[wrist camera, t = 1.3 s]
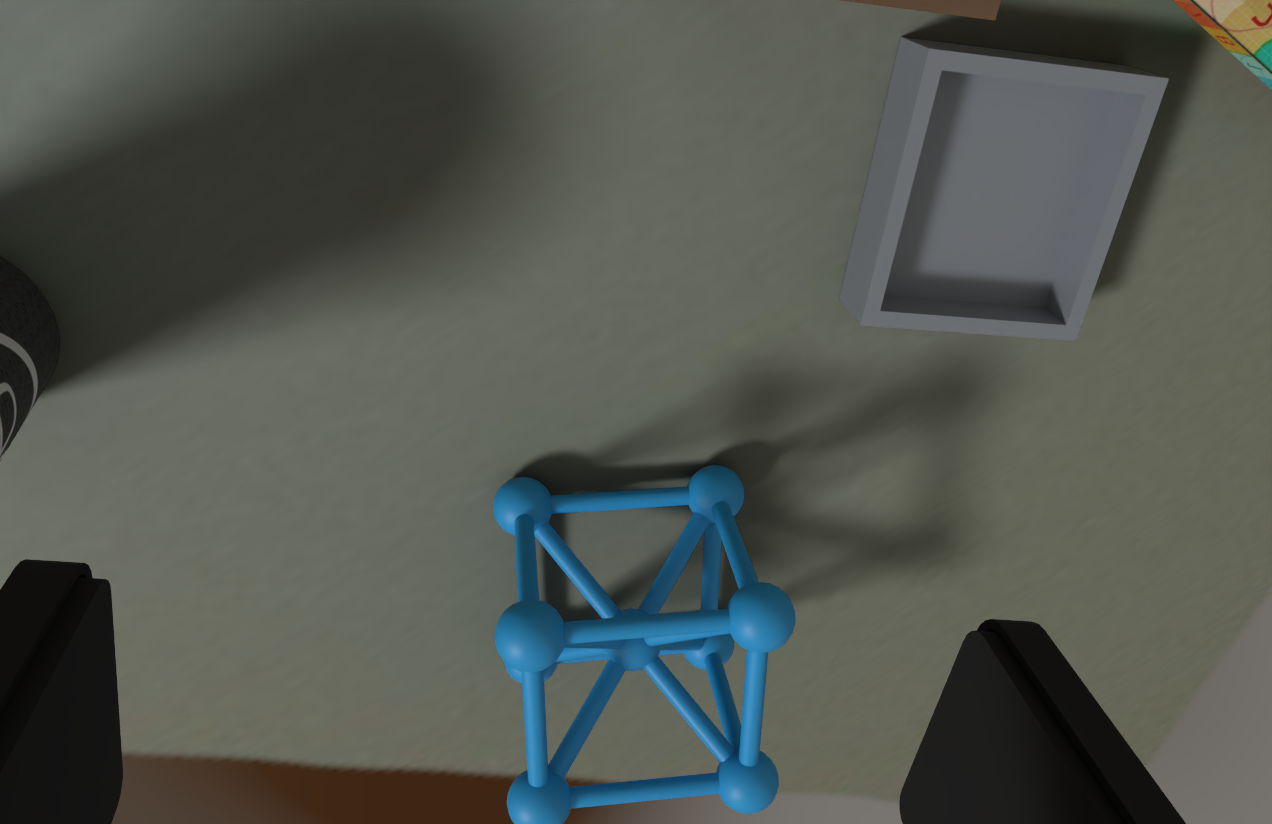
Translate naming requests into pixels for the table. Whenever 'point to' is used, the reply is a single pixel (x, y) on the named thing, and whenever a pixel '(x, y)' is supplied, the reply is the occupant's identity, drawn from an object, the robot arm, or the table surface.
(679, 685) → the molecular structure
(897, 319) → the tray
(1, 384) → the coffee cup
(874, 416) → the table surface
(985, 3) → the pin cup
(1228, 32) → the puzzle game
